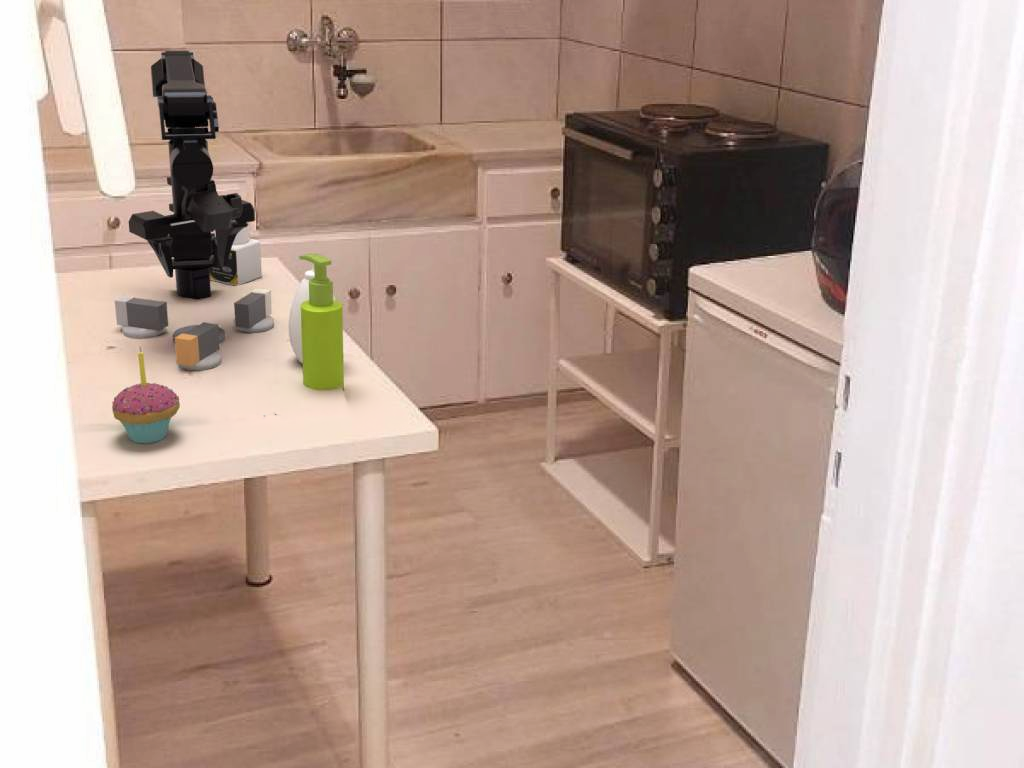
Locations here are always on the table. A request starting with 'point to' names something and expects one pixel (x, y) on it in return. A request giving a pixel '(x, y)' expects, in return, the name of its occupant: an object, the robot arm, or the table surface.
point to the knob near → (141, 316)
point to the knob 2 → (254, 312)
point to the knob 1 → (198, 347)
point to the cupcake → (145, 408)
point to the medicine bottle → (240, 261)
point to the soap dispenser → (322, 331)
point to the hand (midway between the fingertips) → (197, 271)
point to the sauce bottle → (299, 313)
